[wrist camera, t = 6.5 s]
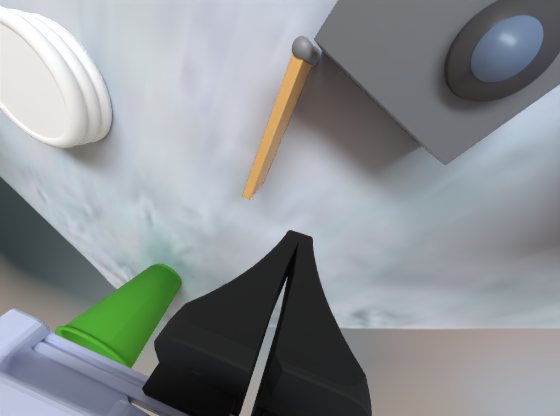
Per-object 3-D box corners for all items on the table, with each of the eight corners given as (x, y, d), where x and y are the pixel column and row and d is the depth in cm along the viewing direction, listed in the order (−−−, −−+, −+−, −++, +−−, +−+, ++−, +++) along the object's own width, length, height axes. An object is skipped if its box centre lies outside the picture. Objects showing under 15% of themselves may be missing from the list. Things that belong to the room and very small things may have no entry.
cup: (132, 266, 33) (48, 337, 23) (154, 243, 28) (61, 320, 19) (176, 302, 34) (115, 380, 25) (204, 286, 30) (141, 374, 21)
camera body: (532, 56, 11) (634, 41, 7) (406, 158, 15) (428, 184, 11) (399, -97, 9) (435, -217, 6) (301, 59, 13) (283, 49, 10)
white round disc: (103, 35, 16) (50, 25, 13) (123, 154, 22) (89, 165, 19) (-2, -1, 17) (-73, -19, 14) (44, 122, 23) (-1, 128, 20)
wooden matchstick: (265, 183, 18) (251, 200, 15) (256, 178, 18) (240, 195, 15) (320, 50, 12) (313, 41, 10) (307, 43, 12) (296, 32, 10)
